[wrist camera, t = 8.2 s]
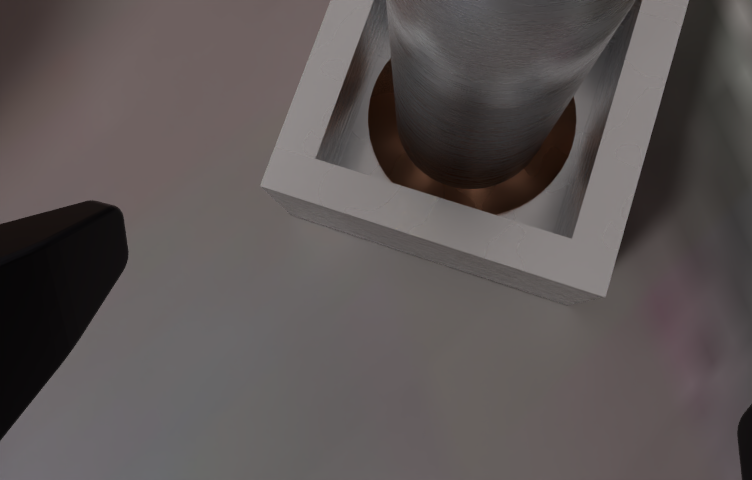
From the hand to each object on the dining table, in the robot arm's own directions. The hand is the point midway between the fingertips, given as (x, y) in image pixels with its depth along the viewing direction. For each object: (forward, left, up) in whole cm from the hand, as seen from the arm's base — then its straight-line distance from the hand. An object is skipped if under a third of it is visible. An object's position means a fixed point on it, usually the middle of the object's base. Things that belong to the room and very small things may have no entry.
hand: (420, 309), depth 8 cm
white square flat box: (+6, 0, -8) cm, 10 cm away
